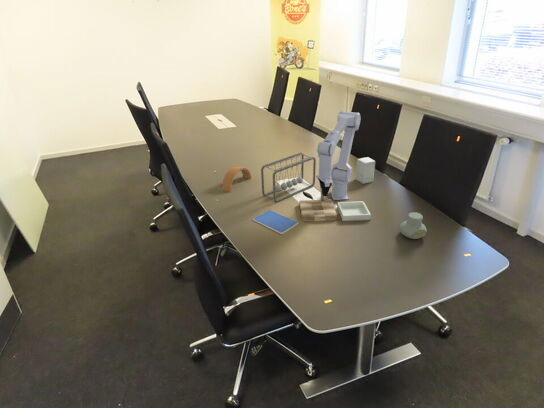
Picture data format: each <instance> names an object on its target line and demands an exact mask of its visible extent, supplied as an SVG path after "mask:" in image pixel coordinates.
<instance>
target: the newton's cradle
mask: <svg viewBox="0 0 544 408" xmlns="http://www.w3.org/2000/svg"><path fill="white" fill-rule="evenodd" d="M304 156H305V157H304ZM299 157H301V159H300V160H296V161H295V162H293V161H294V158H296V159H297V158H298V159H299ZM289 160H291V161H289ZM312 160H313V170H312V171H313V172H312V184H309V183H307V182H305V181H303V180H304V163H306V162H309V161H312ZM284 162H286V163H285V165H284V166H279V165H278V164H280V165H282V163H284ZM287 162H288V163H289V164H287ZM299 165H301V168H300V174H299V171H297V172H298V173H295V177H296V175H297V174H298V175H299V176H297V177H296V178H295V177H294V173H290V176H289V177H287V178H288V180H287V181H286V182H285V180H283V182H282V183H281V184H280V183H277V184H276V179H278V181H280V177H281V176H282V177H281V178H282V179H284V177H286V175H287V174H289V173H288V172H289V171H288V169H290V170H294V169H293V168H294V167H295V166H296V168H295V170H298V167H299ZM273 166H275V167H274V168H275V169H273V168H271V167H273ZM276 166H277V167H279V168H276ZM265 168H267V169H269V170H271V171H273V172H272V173H273V174H272V190H271V191H269V192H267V193H265V181H264V179H265V178H264V176H265V175H264V169H265ZM316 168H317V167H316V157H314V156H312V157H311V156H309V155H306V154H304V153H303V152H298V153H296V154H295V153H294V154H292V155H290V156H287V157H284V158H281V159H279V160H275V161H273V162H270V163H267V164H264V165H263V166H261V169H260V172H261V173H260V175H261V176H260V177H261V193H262V196H264V197H269V198H271V199H272V200H273V202H274V203H278V202H281V201H283V200H285V199H288V198H289V197H293V196H294V195H297V194H299V193H301V192H304V191H306V190H308V189H311V188H314V186H315V185H316ZM283 171H286V173H285V174H284V175H285V176H284V175H281V176H279V178H277V173H279V174H282V172H283ZM291 174H292V175H291ZM283 176H284V177H283ZM291 176H293V178H292V179H290V177H291ZM301 183H303V184H306V185H308V186H307V187H305V188H301V189H299V190H297V191H295V192H291V193H290V194H288V195H285V196H283V197H281V198H278V199H277V198H276V196H277V195H276V193H280V192H281V191H282V190H283V191H286V190H287V189H288V188H289V189H290V188H292V187H293V186H294V187H295V186H297V185H298V184H301ZM281 189H282V190H281ZM271 194H273V195H272V196H273V197H272V196H269V195H271Z"/></svg>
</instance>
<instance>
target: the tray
mask: <svg viewBox="0 0 544 408" xmlns="http://www.w3.org/2000/svg"><path fill="white" fill-rule="evenodd" d="M336 207H337V211H338V213H339V216H340V218H341V220H342V222H355V221H356V222H358V221H359V222H360V221H362V222H363V221H371V218H372V215H371V212H370V210H369V209H368V206H367V205H366V203H365V202H364V201H362V200H360V201H359V200H358V201H340V202H339V201H338V202H337V205H336Z"/></svg>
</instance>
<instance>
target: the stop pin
mask: <svg viewBox="0 0 544 408" xmlns="http://www.w3.org/2000/svg"><path fill="white" fill-rule="evenodd" d="M322 182H323V181H322ZM327 199H328V195H327V196H323V195H322V189H321V188H320V200H321V201H327Z"/></svg>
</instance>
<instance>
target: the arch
mask: <svg viewBox="0 0 544 408" xmlns="http://www.w3.org/2000/svg"><path fill="white" fill-rule="evenodd" d="M239 172H241V173H242V178H244V179H248V180H251V179H252V174H251V172H250V171H249V169H248V168H245V167H242V166H232V167H231V168H229V169H228V171H227V172H226V173H225V175H224V177H223V180H222V191H225V192H228V193H231V192H232V186H233V185H232V184H233V180H234V178H236V177H235V176H236V175H237V174H238V173H239Z"/></svg>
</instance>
